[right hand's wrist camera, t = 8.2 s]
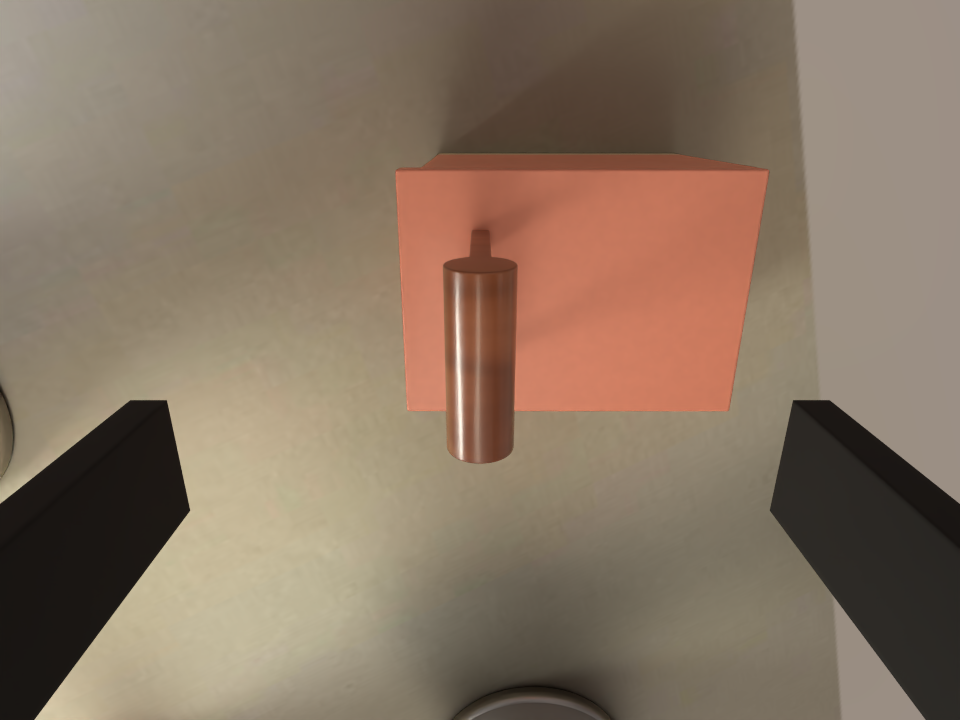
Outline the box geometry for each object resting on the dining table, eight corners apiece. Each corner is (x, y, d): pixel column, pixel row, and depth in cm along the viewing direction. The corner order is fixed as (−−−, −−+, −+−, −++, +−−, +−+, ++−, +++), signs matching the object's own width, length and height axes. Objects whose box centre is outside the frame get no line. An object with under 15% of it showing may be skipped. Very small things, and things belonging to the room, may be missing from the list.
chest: (442, 325, 37) (428, 401, 27) (438, 153, 34) (420, 167, 23) (655, 325, 37) (720, 401, 27) (674, 153, 34) (758, 167, 23)
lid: (409, 401, 27) (379, 521, 19) (398, 167, 23) (354, 191, 15) (720, 401, 27) (823, 521, 19) (758, 167, 23) (907, 191, 15)
